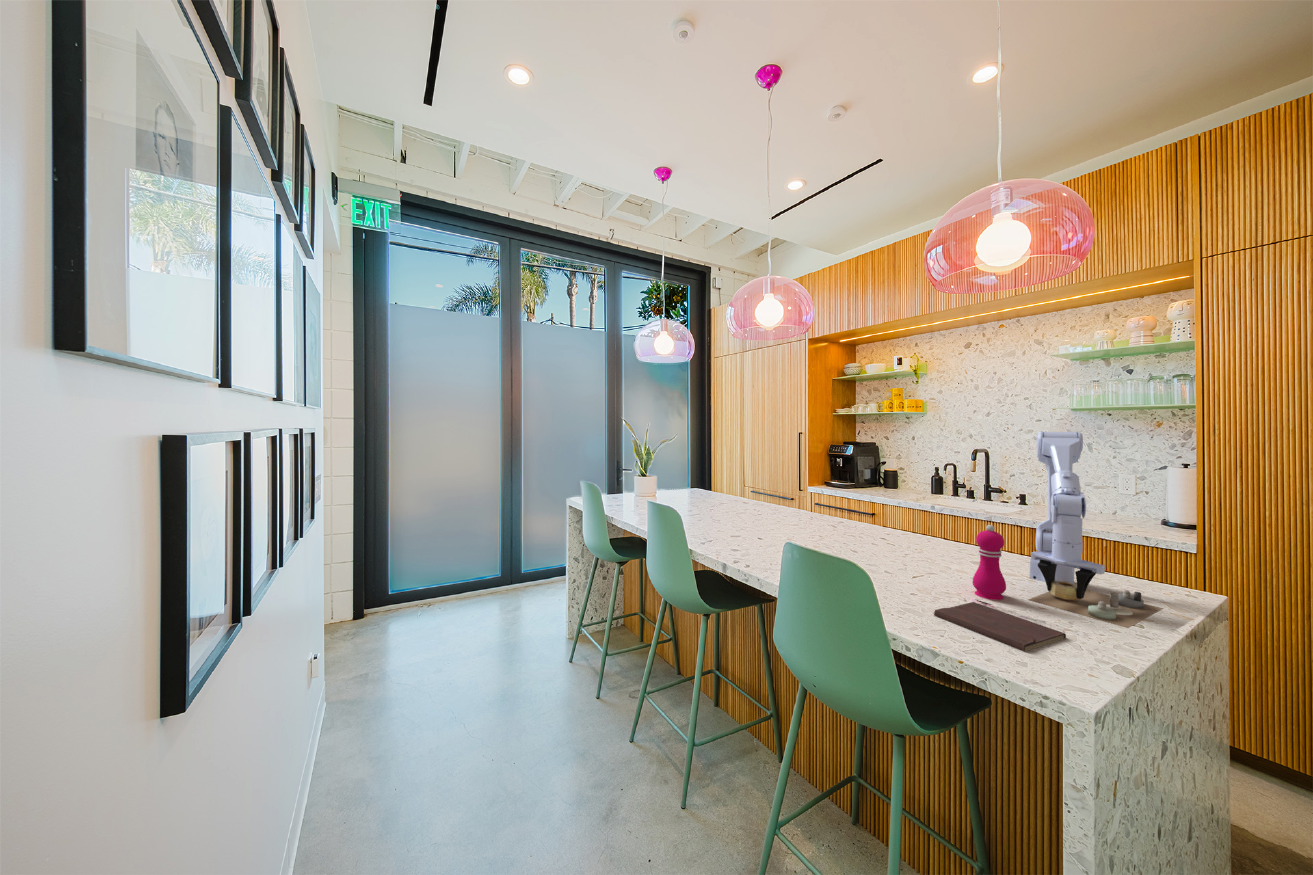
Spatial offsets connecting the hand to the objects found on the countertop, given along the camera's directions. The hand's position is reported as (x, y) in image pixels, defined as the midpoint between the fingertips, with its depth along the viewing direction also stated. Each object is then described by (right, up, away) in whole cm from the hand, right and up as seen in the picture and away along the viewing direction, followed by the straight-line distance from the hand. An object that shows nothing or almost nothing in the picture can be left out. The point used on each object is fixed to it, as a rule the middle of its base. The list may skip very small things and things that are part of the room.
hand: (1065, 594), depth 123 cm
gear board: (+4, -3, -3) cm, 6 cm away
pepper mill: (-18, -3, +3) cm, 18 cm away
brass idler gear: (0, 0, 0) cm, 0 cm away
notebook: (-26, -4, -12) cm, 29 cm away
